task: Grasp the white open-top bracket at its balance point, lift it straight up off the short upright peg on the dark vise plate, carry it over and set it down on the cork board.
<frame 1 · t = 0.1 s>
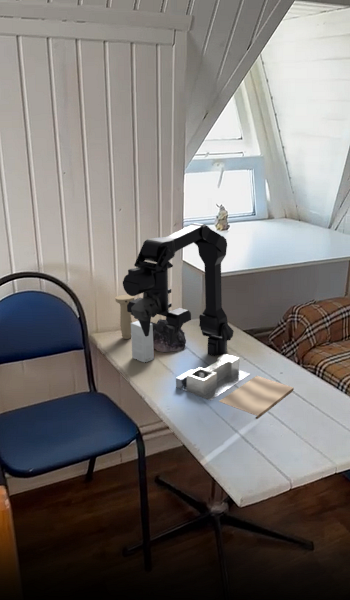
hand: (159, 340, 153), 15 cm above the table, fingers open, 9 cm apart
skincare box: (143, 359, 176), on the table
white open-top bracket: (201, 388, 154), point 1 cm above the table, touching vise plate
handle: (126, 338, 192), on the table
crystal cluster: (167, 345, 186), on the table
vise plate: (214, 383, 159), on the table
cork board: (257, 397, 151), on the table
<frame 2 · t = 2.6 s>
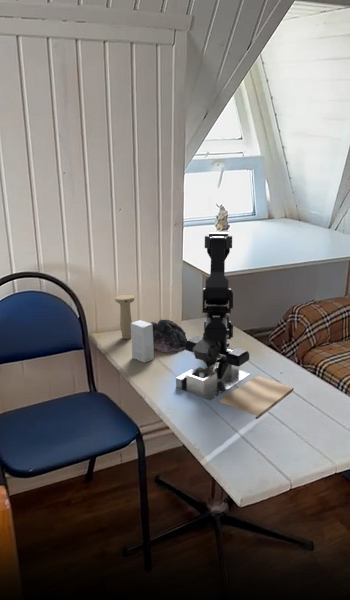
hand: (216, 377, 159), 2 cm above the table, fingers closed on white open-top bracket, 2 cm apart
white open-top bracket: (201, 388, 154), point 1 cm above the table, touching gripper, vise plate
everything else where it was.
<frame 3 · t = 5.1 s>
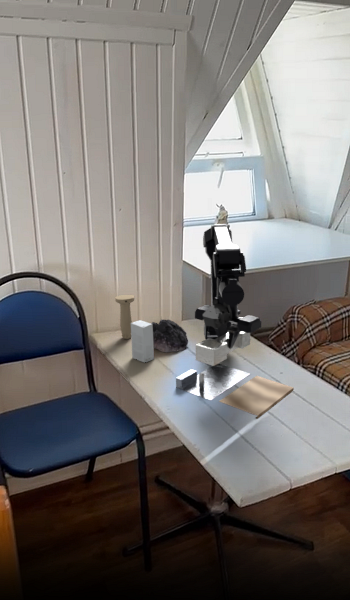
hand: (226, 346, 154), 12 cm above the table, fingers closed on white open-top bracket, 2 cm apart
white open-top bracket: (211, 359, 149), point 11 cm above the table, touching gripper
everything else where it was.
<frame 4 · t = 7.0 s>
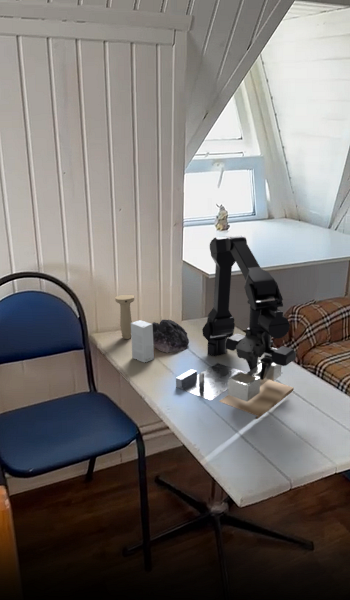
hand: (258, 377, 150), 6 cm above the table, fingers closed on white open-top bracket, 2 cm apart
white open-top bracket: (243, 393, 145), point 4 cm above the table, touching gripper
everything else where it was.
when the fingers open (3 cm above the table, at t = 7.8 s): white open-top bracket stays where it is, resting on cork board.
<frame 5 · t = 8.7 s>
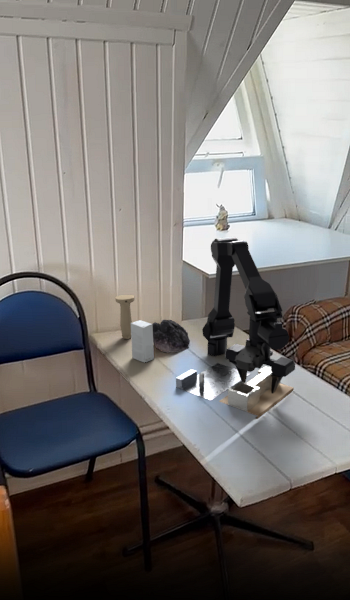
hand: (258, 387, 150), 3 cm above the table, fingers open, 9 cm apart
white open-top bracket: (243, 403, 146), point 1 cm above the table, touching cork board
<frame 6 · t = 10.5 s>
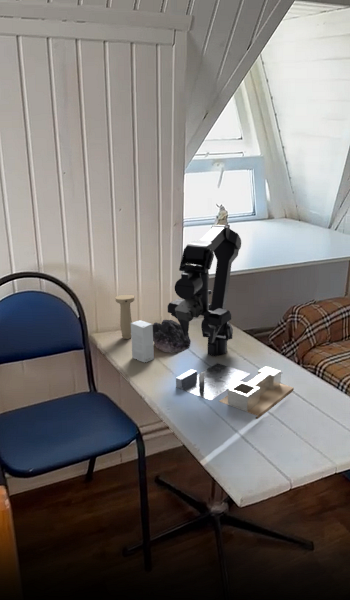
hand: (198, 339, 160), 12 cm above the table, fingers open, 9 cm apart
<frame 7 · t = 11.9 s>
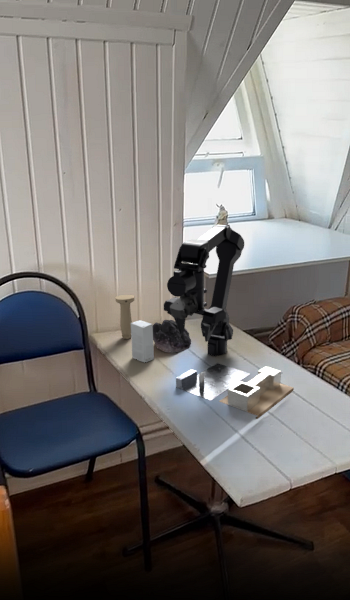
hand: (194, 337, 161), 12 cm above the table, fingers open, 9 cm apart
at the end: white open-top bracket inside the target area (5.6 cm from its centre), point 1.0 cm above the table; white open-top bracket moved 13.9 cm from its start; the gripper is holding nothing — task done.
